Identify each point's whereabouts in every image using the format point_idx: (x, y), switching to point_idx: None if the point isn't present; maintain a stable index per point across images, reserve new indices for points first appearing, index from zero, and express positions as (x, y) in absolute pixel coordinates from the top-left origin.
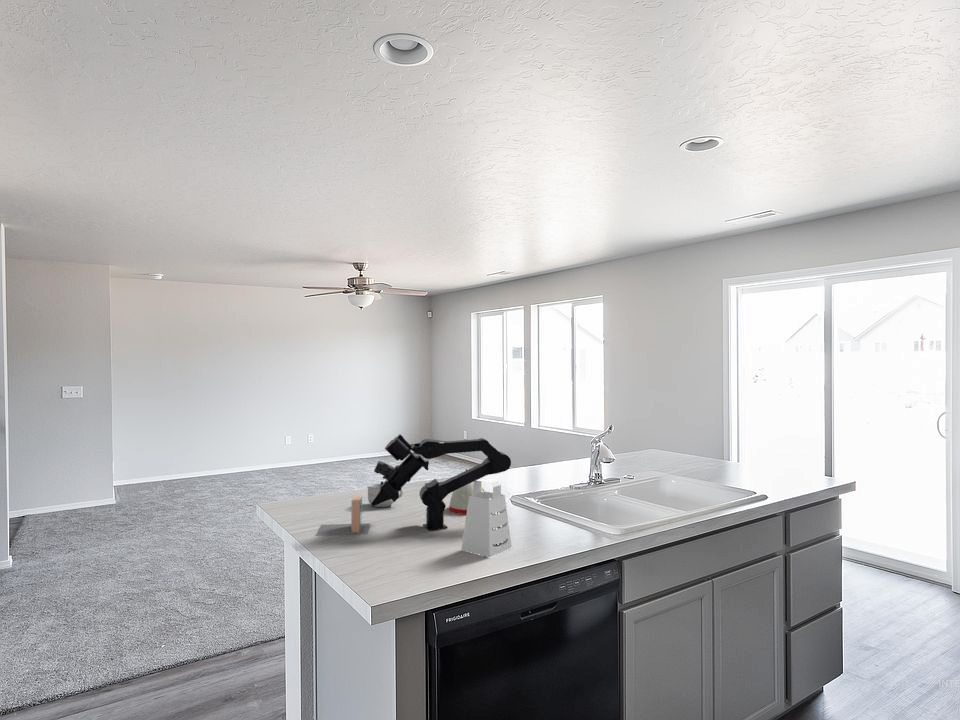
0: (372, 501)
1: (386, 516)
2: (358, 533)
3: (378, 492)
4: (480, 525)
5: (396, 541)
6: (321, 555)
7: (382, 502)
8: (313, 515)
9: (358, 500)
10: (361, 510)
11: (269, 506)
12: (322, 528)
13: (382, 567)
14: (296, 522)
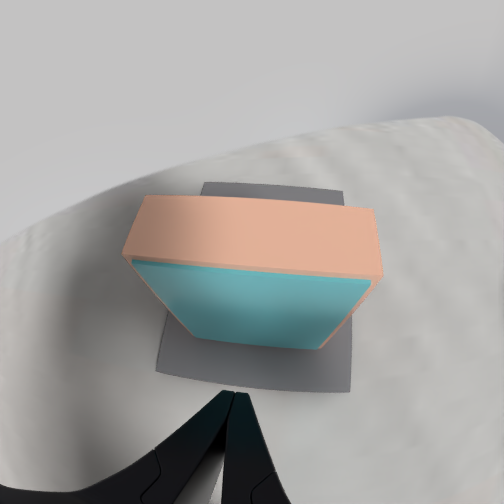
0: (233, 404)
1: (462, 441)
2: (178, 330)
3: (241, 494)
4: None
5: (65, 455)
6: (51, 219)
7: None
8: (450, 182)
9: (136, 244)
10: (290, 323)
11: (472, 125)
12: (291, 195)
13: None
14: (379, 144)
